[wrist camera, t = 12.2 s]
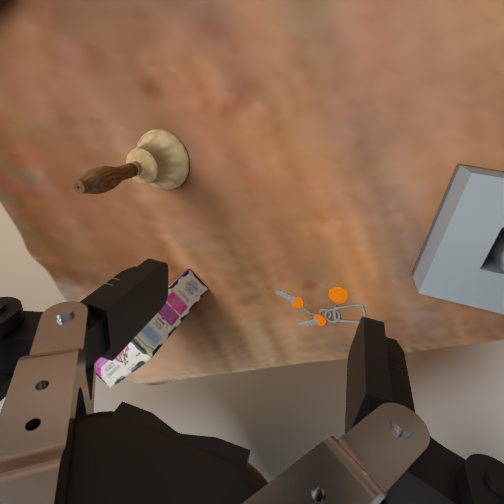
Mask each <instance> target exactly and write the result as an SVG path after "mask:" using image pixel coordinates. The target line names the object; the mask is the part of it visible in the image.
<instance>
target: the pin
mask: <svg viewBox="0 0 504 504" xmlns="http://www.w3.org/2000/svg"><path fill="white" fill-rule="evenodd" d="M488 254H489V255H490V256H491V257H492V258H493V260H494V261H495V262H496V263H497V264H498V265H499V267H500V268H501V269H502V270H503V271H504V228H501V230H500V232H499V234H498V236H497V238H496V240H495V242H494V244H493V245H492V247H491V249H490V251H489V253H488Z"/></svg>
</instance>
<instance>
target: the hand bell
mask: <svg viewBox="0 0 504 504" xmlns="http://www.w3.org/2000/svg"><path fill="white" fill-rule="evenodd" d="M188 172H189V157H188V153H187V151H186V149H185V147H184V145H183V143H182V142H181V141H180V140H179V139H178V138H177V137H176V136H175V135H174V134H172V133H171V132H169V131H166V130H162V129H154V130H150V131H148V132H146V133H145V134H144V135H143V136H142V137H141V138H140V140H139V142H138V144H137V147H136V149H134V150H132V151H131V152H130V153H129V154H128V156H127V159H126V164H125V165H122V166H119V167H109V166H104V167H97V168H94V169H91V170H89V171H87V172H86V173H85V174H83V175H82V176H81V177H80V178H79V179H78V180H76V181H75V182H74V183H73V186H74V190H75V191H76V192H77V193H80V194H82V193H90V194H99V193H104V192H107V191H109V190H111V189H113V188H115V187H116V186H117V185H118V184H119V183H120V182H121V181H122V180H125V179H128V178H133V179H134V180H135V181H137V182H139V183H141V184H149V183H150V184H151V185H153V186H154V187H156V188H159V189H162V190H172V189H175V188H177V187H179V186H180V185H181V184H182V183H183V182H184V181H185V179H186V178H187V175H188Z"/></svg>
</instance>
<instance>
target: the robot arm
mask: <svg viewBox="0 0 504 504" xmlns="http://www.w3.org/2000/svg"><path fill="white" fill-rule="evenodd" d="M167 298H168V265H167V263H165V262H161V261H157V260H153V259H147V260H146V261H144V262H143V263H142V264H140V265H139V266H138V267H132V268H129V269H126V270H124V271H122V272H120V273H119V274H118V275H116V276H115V277H114V278H113V279H111V280H109V281H108V282H107V283H106V284H104V285H102V286H101V287H100V288H98V289H97V290H96V291H94V292H93V293H91V294H90V295H89V296H87V297H86V298H85V299H83V300H82V301H80V302H63V303H59V304H56V305H53V306H52V307H50V308H48V309H47V310H46V311H44V312H33V311H23V308H22V304H21V302H20V300H18V299H16V298H12V297H0V401H1V400H2V399H3V398H4V397H6V398H5V401H4V404H3V407H2V410H1V413H0V504H504V464H503V463H502V462H500V461H498V460H496V459H495V458H492V457H490V456H487V455H483V454H473V455H471V456H469V457H468V458H467V460H465V459H463V458H462V457H460V456H458V455H457V454H455V453H453V452H452V451H450V450H448V449H447V448H445V447H444V446H442V445H441V444H439V443H438V442H436V441H435V440H434V439H433V438H431V436H430V434H429V431H428V428H427V426H426V425H425V423H424V422H423V420H422V419H421V418H420V417H419V416H418V415H417V414H416V413H415V409H414V403H413V398H412V392H411V387H410V382H409V376H408V371H407V366H406V361H405V355H404V351H403V350H402V348H401V347H400V345H399V344H398V342H397V341H396V340H394V339H391V338H387V337H386V336H385V328H384V323H383V322H381V321H377V320H374V319H370V318H366V317H362V318H361V320H360V322H359V325H358V328H357V331H356V334H355V337H354V339H353V342H352V345H351V348H350V352H349V356H348V364H347V390H346V417H345V434H344V435H343V436H341V437H340V438H339V439H336V438H335V437H334V436H331V437H328V438H327V439H325V440H324V441H322V442H321V443H320V444H318V445H317V446H316V447H315V448H313V449H312V450H311V451H309V452H308V453H307V454H305V455H304V456H303V457H301V458H300V459H299V460H298V461H296V462H295V463H294V464H292V465H291V466H290V467H289V468H287V469H286V470H285V471H283V472H282V473H281V474H280V475H278V476H277V477H276V478H274V479H273V480H272V481H270V482H269V483H268V482H267V480H266V479H265V478H264V477H263V476H262V474H261V473H260V472H259V471H258V470H257V469H256V468H254V467H253V466H252V465H251V464H249V463H248V460H249V455H250V450H248V449H245V448H243V447H240V446H237V445H234V444H232V443H230V442H227V441H224V440H222V439H219V438H215V437H206V436H197V435H187V434H180V433H178V432H176V431H174V430H173V429H172V428H171V427H169V426H168V425H167V424H165V423H164V422H163V421H162V420H160V419H159V418H158V417H156V416H155V415H154V414H152V413H151V412H148V411H146V410H143V409H140V408H138V407H135V406H133V405H130V404H127V403H125V402H122V403H121V404H120V405H119V406H118V408H117V409H116V410H115V412H112V411H109V412H97V413H94V412H93V411H94V410H93V409H94V393H95V380H96V361H97V360H98V359H99V358H100V357H102V358H105V359H108V360H110V361H113V360H114V359H115V358H116V357H117V356H118V355H119V354H120V353H121V352H122V351H123V349H124V348H125V347H126V346H127V345H128V344H129V343H130V342H131V341H132V340H133V339H134V338H135V337H136V336H137V335H138V333H139V332H140V331H141V330H142V329H143V328H144V327H145V326H146V325H147V324H148V323H149V322H150V321H151V320H152V319H153V318H154V316H155V315H156V314H157V313H158V312H159V311H160V310H161V309H162V308H163V307H164V305H165V303H166V301H167Z"/></svg>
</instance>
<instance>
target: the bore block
mask: <svg viewBox="0 0 504 504" xmlns="http://www.w3.org/2000/svg"><path fill="white" fill-rule="evenodd" d="M501 228H504V171H498V170H492V169H486V168H480V167H474V166H468V165H462V164H457V166H456V168H455V171H454V173H453V175H452V178H451V180H450V183H449V185H448V187H447V190H446V192H445V195H444V197H443V200H442V202H441V204H440V207H439V209H438V212H437V214H436V216H435V219H434V221H433V224H432V226H431V228H430V231H429V233H428V236H427V238H426V240H425V243H424V245H423V248H422V250H421V252H420V255H419V257H418V260H417V262H416V264H415V267H414V269H413V272H412V275H413V278H414V281H415V284H416V287H417V290H418V293H420V294H424V295H428V296H432V297H436V298H440V299H444V300H448V301H452V302H456V303H460V304H464V305H468V306H472V307H476V308H480V309H484V310H488V311H492V312H496V313H500V314H504V271H503V270H502V269H501V268H500V267H499V265H498V264H497V263H496V262H495V261H494V260H493V258H492V257H491V256H490V255H489V254H488V253H489V251H490V249H491V247H492V245H493V244H494V242H495V240H496V238H497V236H498V234H499V232H500V230H501Z"/></svg>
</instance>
